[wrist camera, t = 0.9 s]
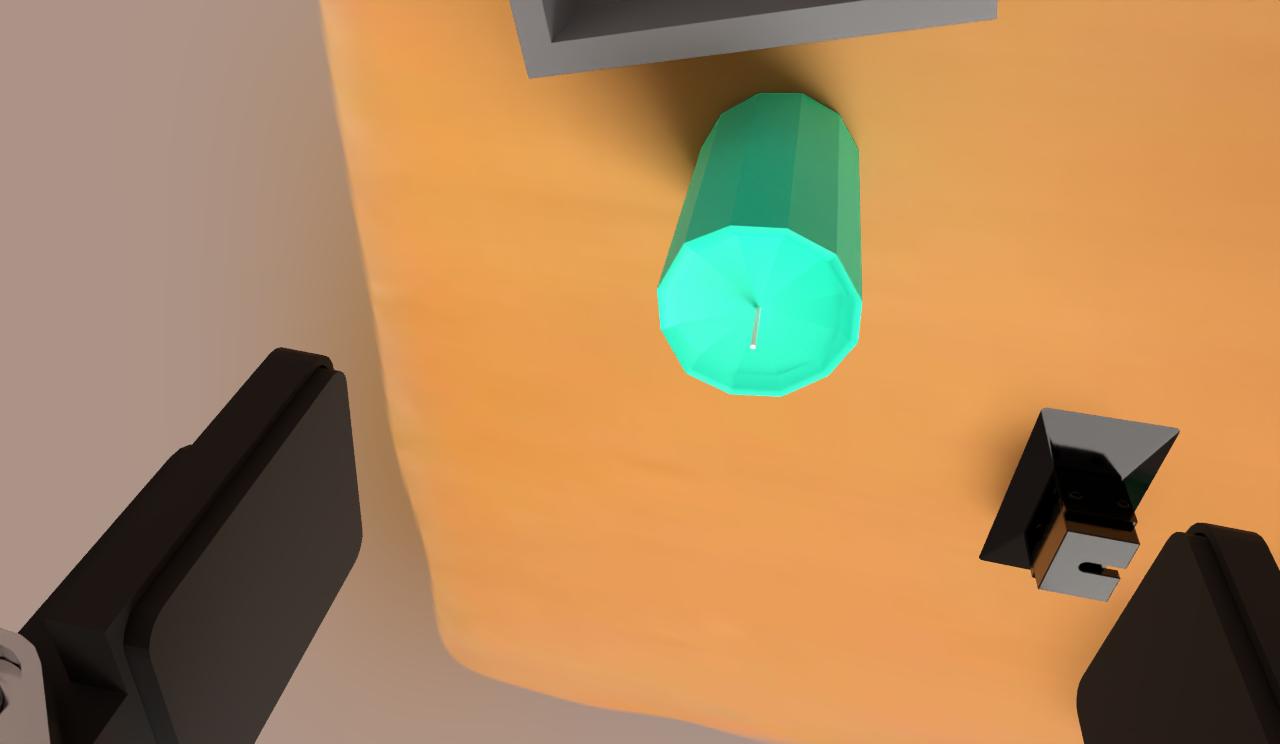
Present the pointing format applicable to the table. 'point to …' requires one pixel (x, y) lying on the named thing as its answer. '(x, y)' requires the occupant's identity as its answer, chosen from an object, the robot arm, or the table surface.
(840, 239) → the candle
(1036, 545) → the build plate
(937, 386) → the table surface
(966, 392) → the table surface
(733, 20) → the bin
